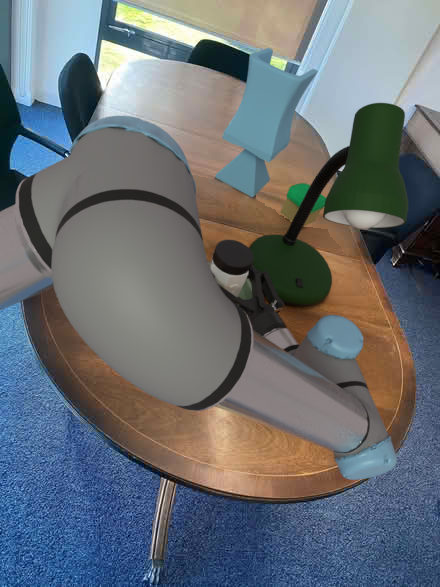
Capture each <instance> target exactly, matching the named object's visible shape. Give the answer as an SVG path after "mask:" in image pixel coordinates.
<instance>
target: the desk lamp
mask: <svg viewBox="0 0 440 587" xmlns="http://www.w3.org/2000/svg"><path fill="white" fill-rule="evenodd" d="M405 118H406V111H405V110H404V109H403V108H402V107H400V106H399V105H396V104H394V103H388V102H374V103H373V102H372V103H368V104H366V105H363V106H361V107H360V108H359V109H358V110H357V111H356V112H355V114H354V117H353V122H352V127H351V128H352V129H351V134H350V140H349V145H348V146H346V147H343V148H341V149H340V150H338V151H337V152H335V153H334V154H333V155H332V156H331V157H330V158H329V159H328V160H327V161H326V162H325V163H324V165H323V166H322V167H321V168H320V170H319V171H318V173H317V174H316V176H314V179H313V180H312V182H311V183H310V184H309V185H310V187H309V189H308V191H307V193H306V195H305V197H304V199H303V201H302V203H301V205H300V207H299V209H298V211H297V213H296V215H295V217H294V219H293V221H291V222H290V225H289V227H288V229H287V231H286V232H285V233H284V235H283V234H266V235H265V234H264V235H262V236H259V237H257V238H256V239H255V240H253V241H252V242H251V244H250V246H249V247H248V248H249V249H250V250H251V251H252V253H253V262H252V264H253V266H254V267H255V269H256V270H258V271H259V272H263V271H267V272H268V274H269V276H270V279H271V281H272V283H273V285H274V288H275V290H276V292H277V294H278V297H279V298H280V299H281V300H282V301H283V302H284V306H289V307H294V308H311V307H314V306H317V305H320V304H321V303H322V302H324V300H325V299H326V298H327V296H328V295H329V293H330V291H331V288H332V285H333V276H332V272H331V268H330V266H329V263H328V262H327V260H326V258H325V257H324V256H323V255H322V254H321V253H320V252H319V251H318V250H317V249H316V248H315V247H313V246H312V245H310V244H309V243H308V242H305V241H303V240H301V239H298V237H299V235H300V233H301V231H302V229H303V226H304V224H305V222H306V220H307V218H308V216H309V215H310V213H311V211H312V209H313V207H314V205H315V203H316V202H317V200H318V198H319V196H320V194H321V195H322V193H323V191H324V189H325V188H326V187H327V185H328V184H329V183H330V181H331V180H332V178H333V177H334V176H335V175H336V174H337V172H338V171H339V170H340V169H342V170H341V171H340V172H339V173H338V175H337V177H336V178H335V179H334V182H333V184H332V186H331V187H330V189H329V192H328V194H327V196H326V200H325V206H324V208H323V213H322V218H323V219H324V220H326V221H328V222H331V223H335V224H338V225H342V226H343V225H344V226H349V227H353V228H354V229H358V230H369V229H389V228H395V227H401V226H403V225H405V224H406V223H407V218H408V213H409V205H410V204H409V197H408V192H407V188H406V185H405V180H404V178H403V175H402V173H401V172H400V154H401V145H402V138H403V132H404V124H405ZM304 227H305V226H304ZM250 279H251V277H250V278H249V280H250ZM262 293H263V294H264V297H266V295H265V293H264V291H263V288H262Z"/></svg>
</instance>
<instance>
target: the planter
mask: <svg viewBox="0 0 440 587" xmlns="http://www.w3.org/2000/svg"><path fill="white" fill-rule="evenodd" d="M273 52H274V49H272V48H270V47H267V48H264V49H261V50H257V51H255V52H252V53H250V54H249V58H248V60H249V61H248V69H247V77H246V83H245V89H244V92H243V95H242V99H241V102H240V104H239V106H238V108H237V110H236V111H235V114H234V116H233V117H232V119H231V120H230V122H229V124H228V125H227V126H226V128H225V129H224V131H223V133H222V137H221V139H222V140H224V141H226V142H228V143H229V144H232V145H235V146H237V147H240V148H242V149H243V150H242V151H241V152H239V153H238V154H237V155H236V156H235V157H234V158H233V159H231V161H230V162H228V163H227V164H226V165H225V166H224V167H222V168H221V169H220V170H219V171H218V172H217V173H215V177H214V178H215V179H217V180H219V181H221V182H222V183H224V184H226V185H228V186H230V187H231V188H234V189H236V190H238V191H239V192H240V193H243V194H245V195H247V196H248V197H250V198H255V196H256V195H257V194H258V193H259V192H260V191H261V190H262V189H263V188H264V187H265V186H266V185H267V184H268V183H269V182H270V180H271V177H270V174H269V170H268V168H267V164H266V162H267V163H271V162H272V161H273V160H274V159H275V158H276V157H277V156H278V155H279V153H281V152H282V151H283V150H285V149H286V148H287V147H288V145H289V143H290V141H291V132H292V131H291V130H292V124H293V119H294V115H295V112H296V109H297V107H298V105H299V103H300V101H301V99H302V97H303V95H304V93H305V92H306V91H307V89H308V87H309V86H310V85H311V82H312V81H313V80H314V79H315V77H316V75H317V74H318V73H319V70H316V69H315V68H312V69H310V70H308V71H306V72H304V73H303V74H301V75H298V74H294V73H290V72H288V71H285V70H283V69H281V68H279V67H276V66H274V65H273V64H271V61H272V57H273Z"/></svg>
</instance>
